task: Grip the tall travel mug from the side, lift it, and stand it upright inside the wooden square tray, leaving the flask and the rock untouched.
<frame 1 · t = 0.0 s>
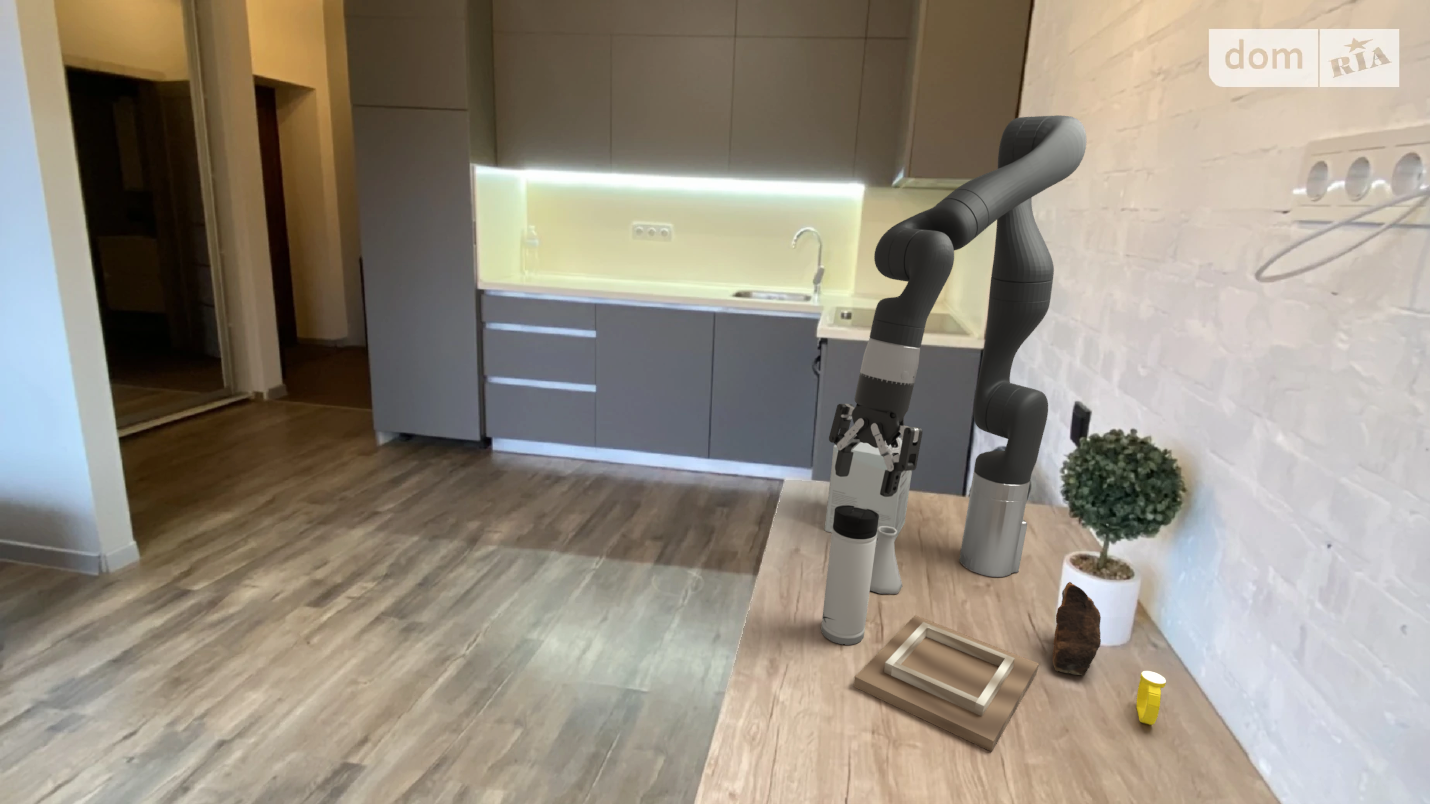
hand: (863, 485, 106), 22 cm above the table, tool pointing down, fingers open, 8 cm apart
travel mug: (841, 635, 109), on the table
wooden square tray: (947, 679, 100), on the table
flask: (880, 585, 124), on the table
watch: (1143, 717, 95), on the table
supplement box: (865, 527, 146), on the table
decorative rock: (1069, 657, 108), on the table
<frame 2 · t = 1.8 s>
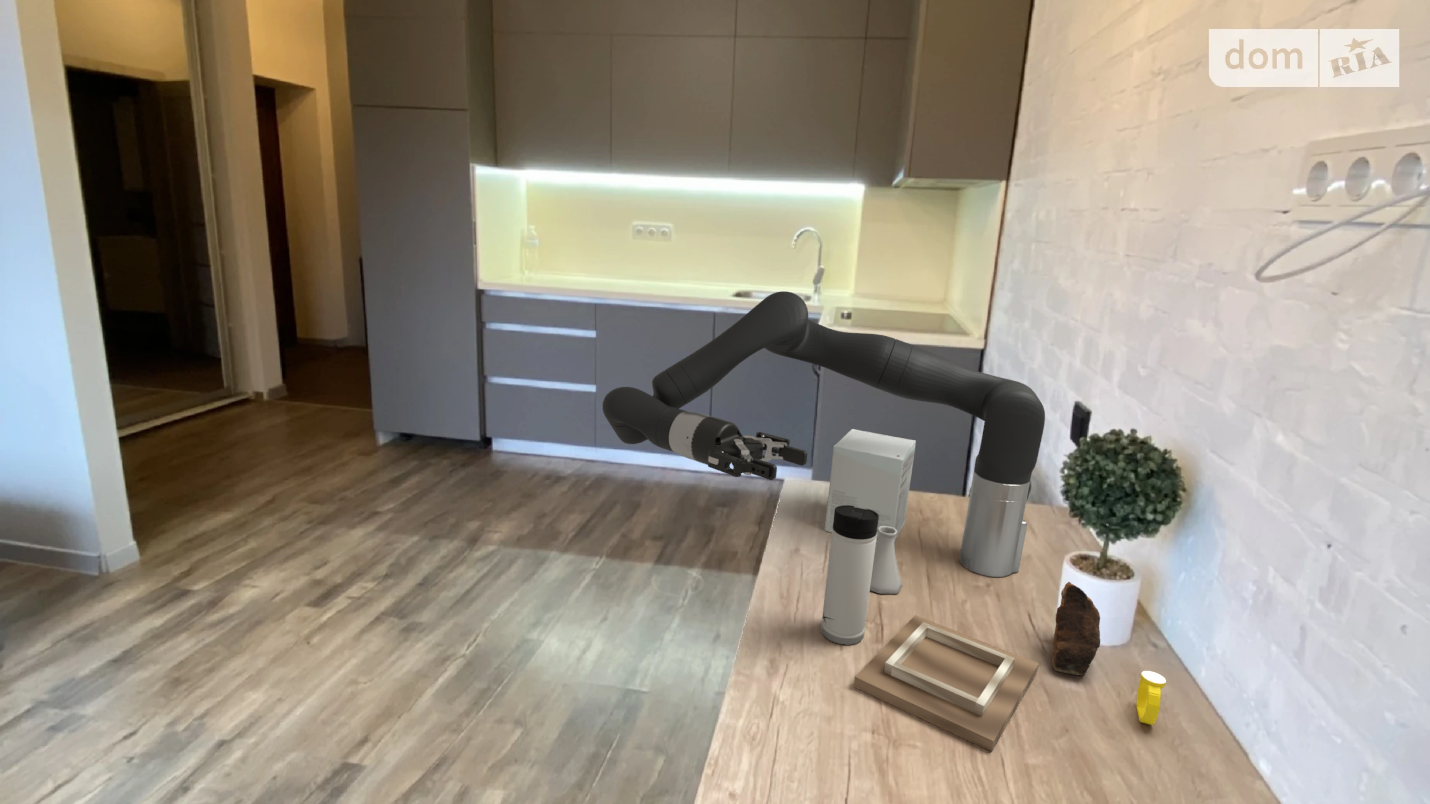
hand: (791, 465, 109), 23 cm above the table, tool horizontal, fingers open, 8 cm apart
nothing on the table moved.
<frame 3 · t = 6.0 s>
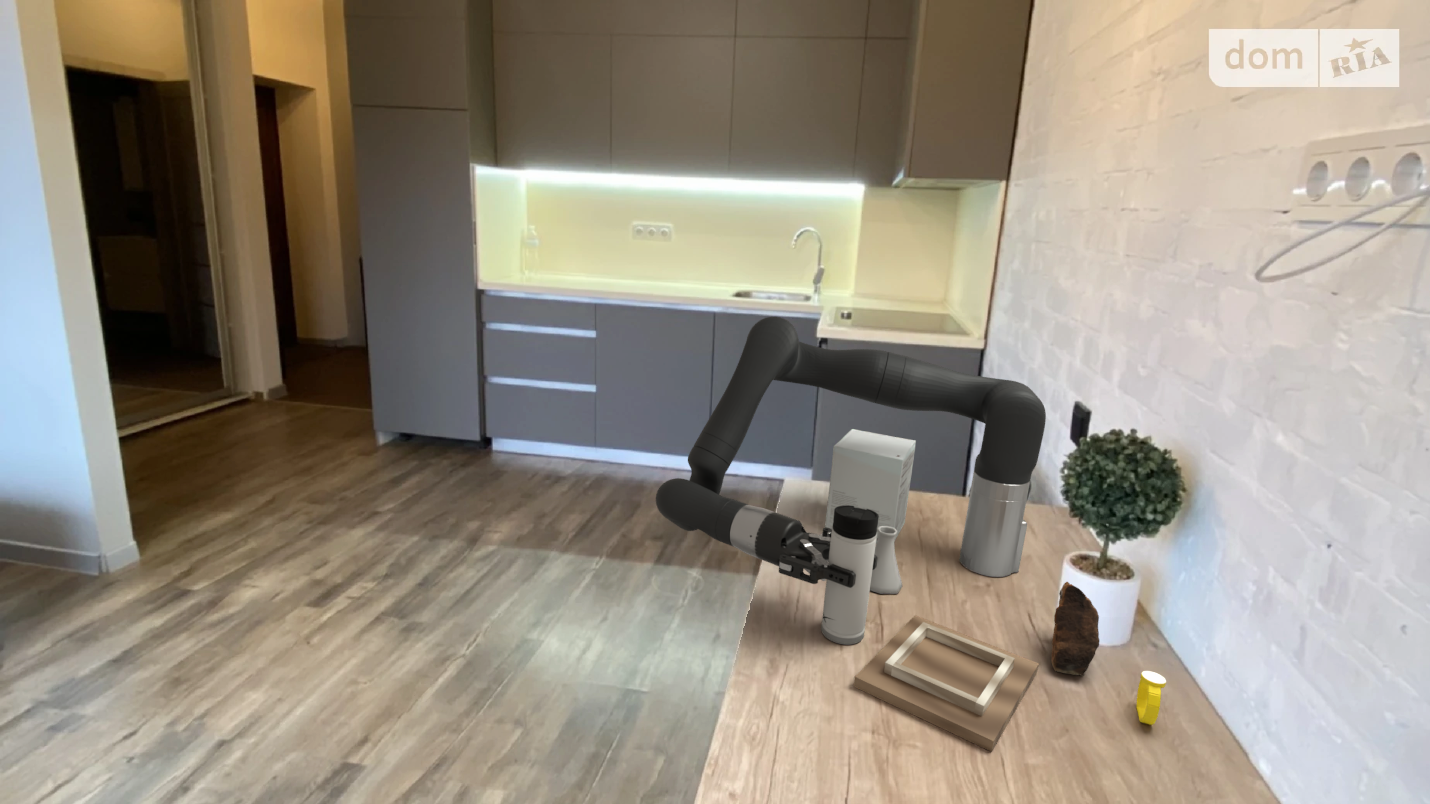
hand: (865, 571, 105), 11 cm above the table, tool horizontal, fingers closed on travel mug, 6 cm apart
travel mug: (841, 634, 109), on the table, touching gripper
everything else where it was.
when the fingers open (14 cm above the table, at t = 9.9 s): travel mug drops 1 cm, resting on wooden square tray.
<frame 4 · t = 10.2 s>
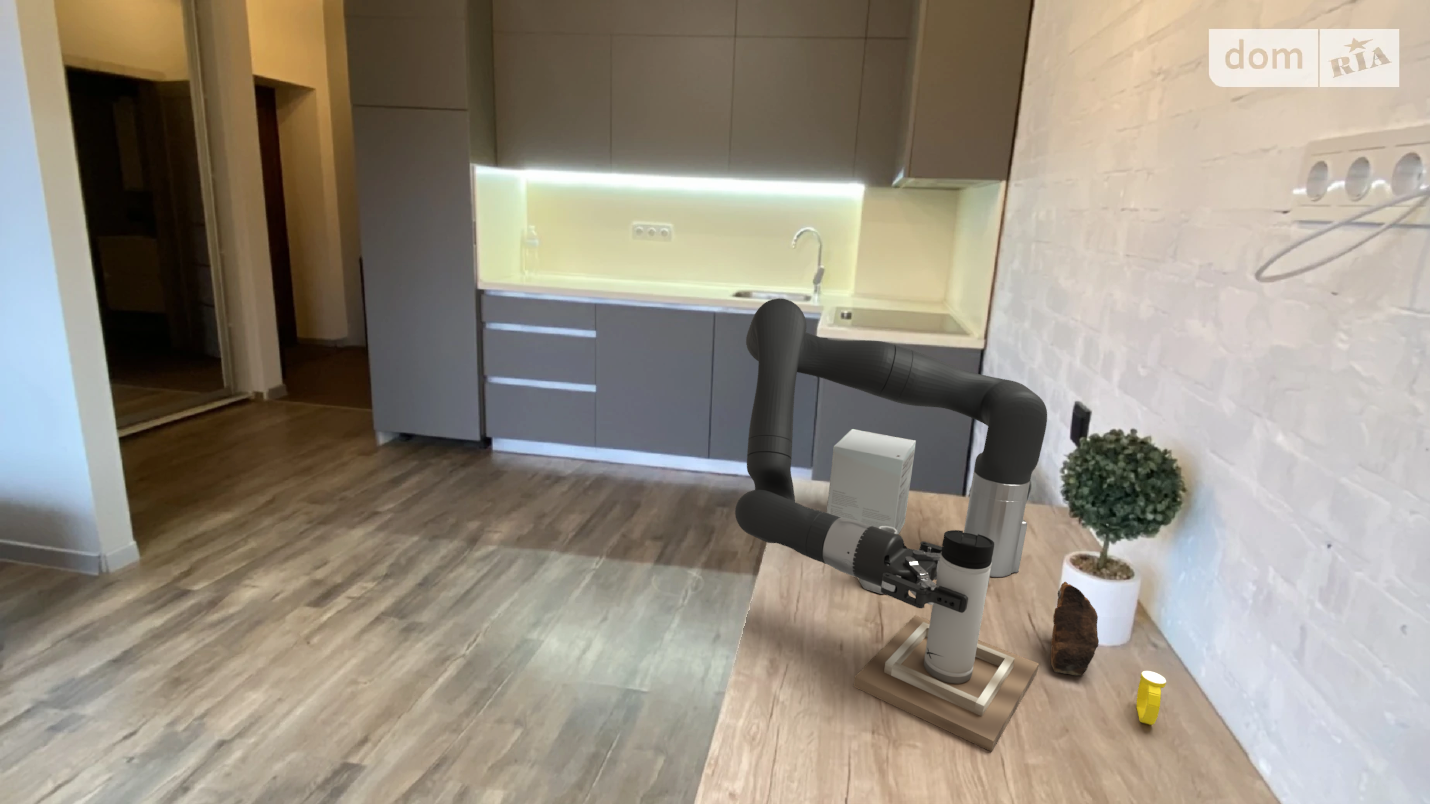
hand: (977, 592, 95), 14 cm above the table, tool horizontal, fingers open, 8 cm apart
travel mug: (946, 671, 100), point 1 cm above the table, touching wooden square tray
everything else where it was.
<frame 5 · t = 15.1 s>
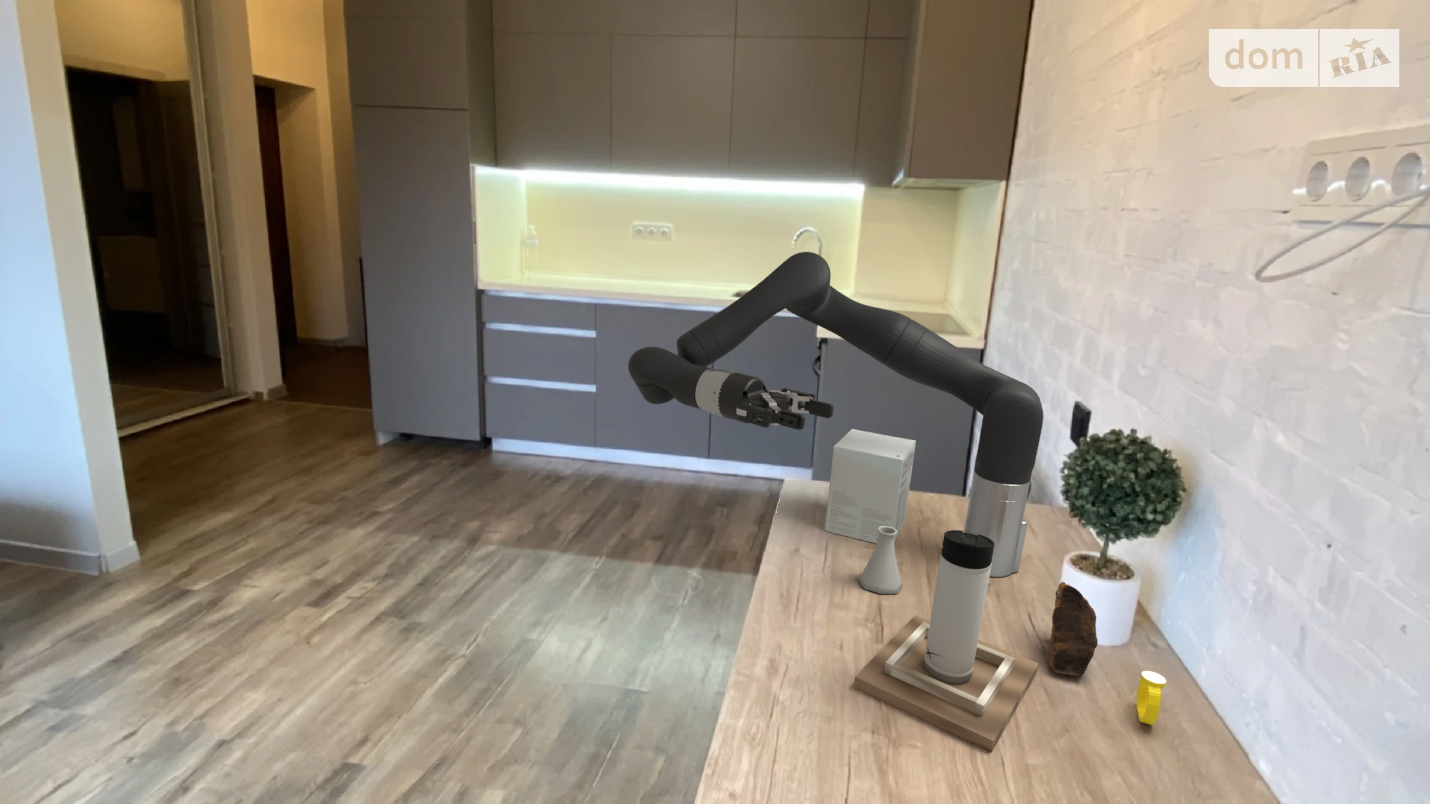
hand: (818, 417, 111), 30 cm above the table, tool horizontal, fingers open, 8 cm apart
nothing on the table moved.
at the end: travel mug inside the target area on the wooden square tray (0.4 cm from its centre), point 1.3 cm above the wooden square tray's base; travel mug tilted 0°; the gripper is holding nothing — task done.
